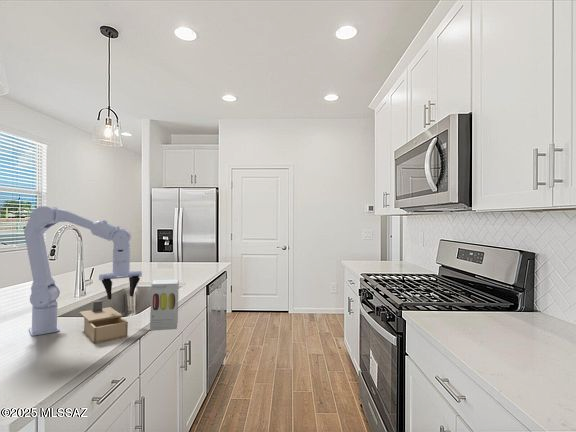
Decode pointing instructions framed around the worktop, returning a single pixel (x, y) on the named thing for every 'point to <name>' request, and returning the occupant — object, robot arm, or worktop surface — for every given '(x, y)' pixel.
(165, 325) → the supplement box
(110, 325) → the carton
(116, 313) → the carton lid
